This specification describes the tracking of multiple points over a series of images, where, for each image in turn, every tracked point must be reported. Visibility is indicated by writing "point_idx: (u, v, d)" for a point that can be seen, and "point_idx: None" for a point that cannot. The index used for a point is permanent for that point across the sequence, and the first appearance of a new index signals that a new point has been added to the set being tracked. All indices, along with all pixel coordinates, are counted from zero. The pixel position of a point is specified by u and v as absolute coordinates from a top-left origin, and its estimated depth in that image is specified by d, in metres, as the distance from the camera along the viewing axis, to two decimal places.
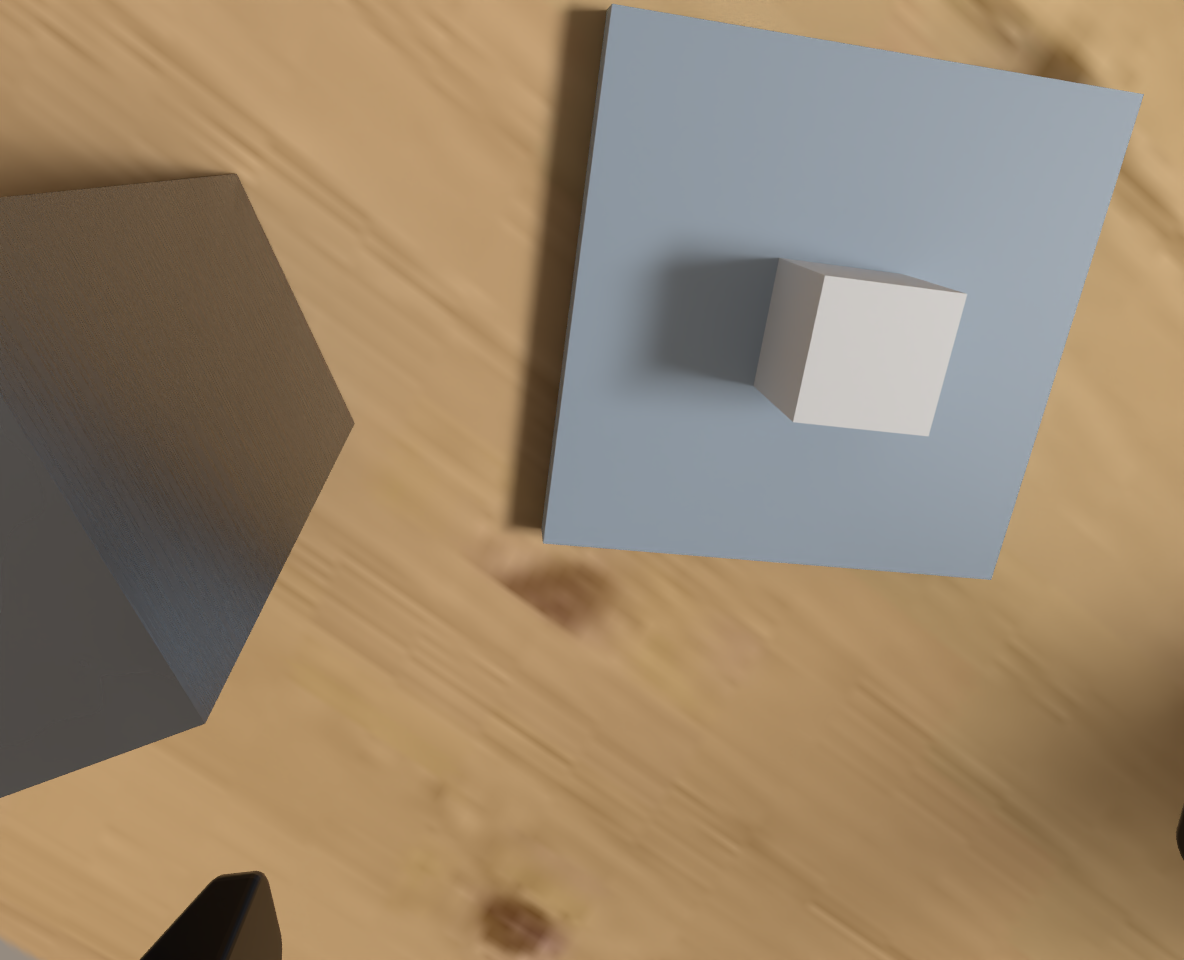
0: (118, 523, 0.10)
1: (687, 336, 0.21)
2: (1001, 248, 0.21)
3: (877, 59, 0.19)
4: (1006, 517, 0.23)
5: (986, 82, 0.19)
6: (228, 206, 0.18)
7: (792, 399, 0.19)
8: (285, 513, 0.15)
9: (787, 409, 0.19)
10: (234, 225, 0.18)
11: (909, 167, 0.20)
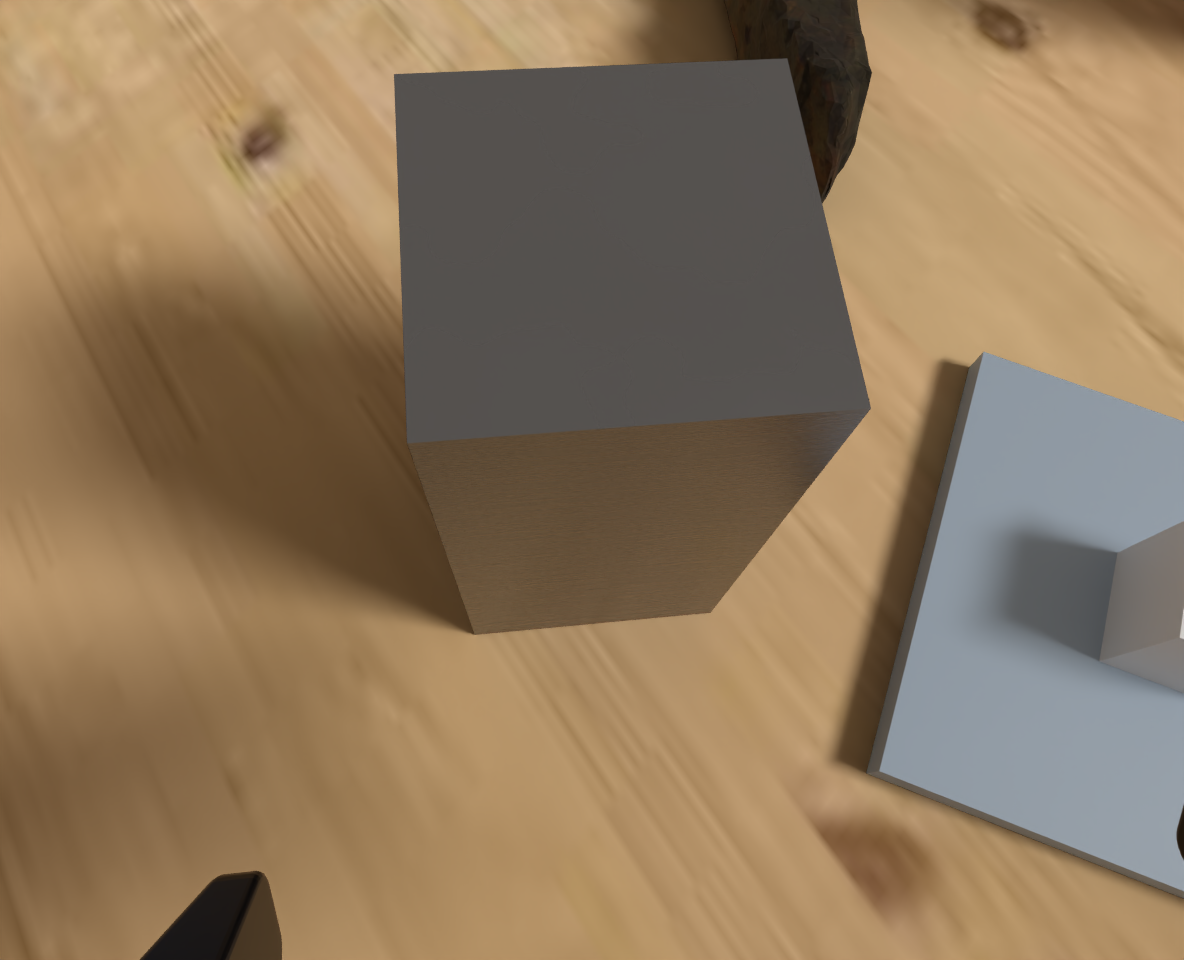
0: None
1: (1035, 598, 0.23)
2: None
3: None
4: None
5: None
6: None
7: (1172, 623, 0.20)
8: None
9: (1166, 635, 0.20)
10: None
11: None
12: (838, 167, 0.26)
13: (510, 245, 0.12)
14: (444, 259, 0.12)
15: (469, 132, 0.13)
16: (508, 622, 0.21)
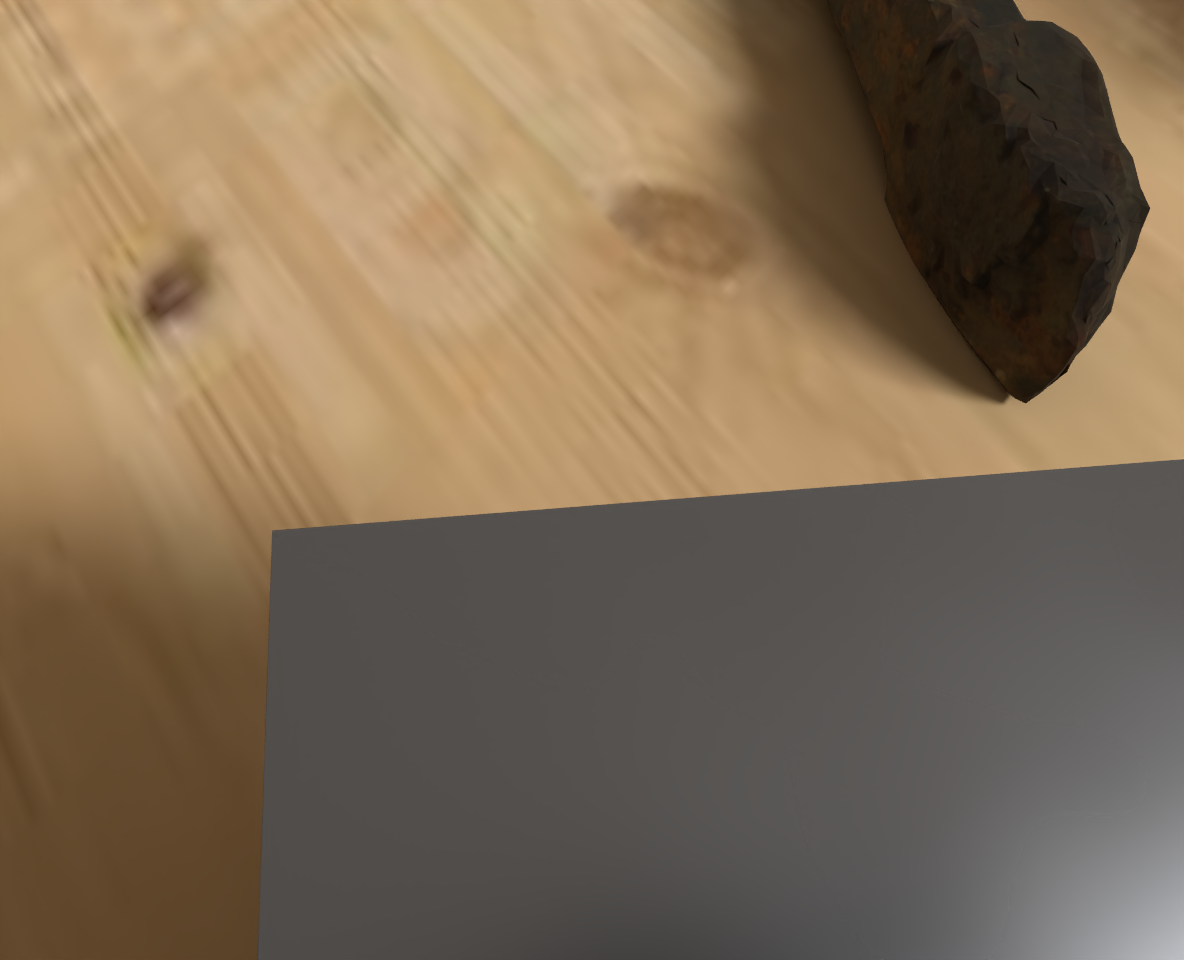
0: None
1: None
2: None
3: None
4: None
5: None
6: None
7: None
8: None
9: None
10: None
11: None
12: None
13: None
14: None
15: (532, 782, 0.04)
16: None
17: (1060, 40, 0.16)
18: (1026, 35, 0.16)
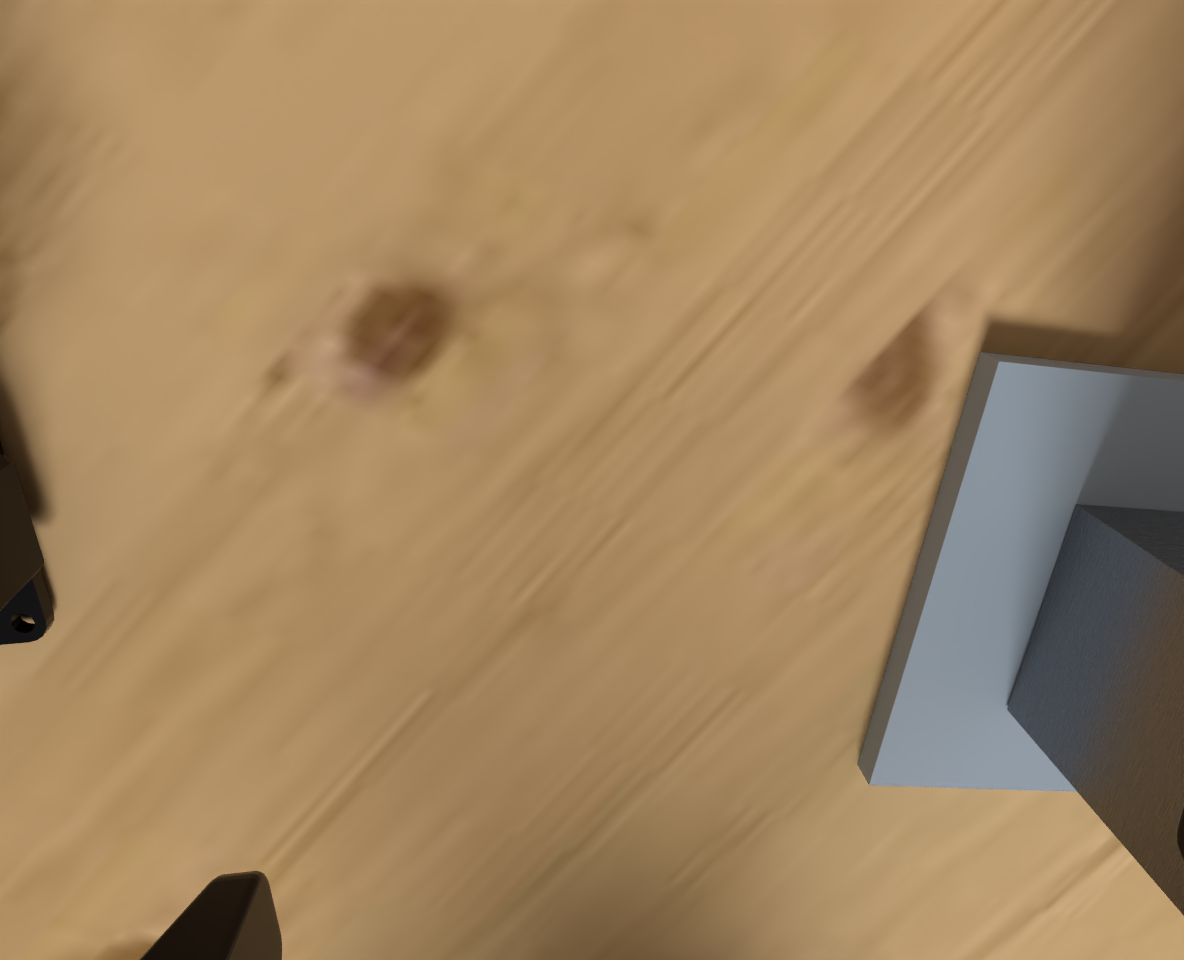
0: None
1: (1171, 490, 0.22)
2: None
3: None
4: (931, 784, 0.25)
5: None
6: None
7: None
8: None
9: None
10: None
11: None
12: None
13: None
14: None
15: None
16: (1090, 555, 0.21)
17: None
18: None
